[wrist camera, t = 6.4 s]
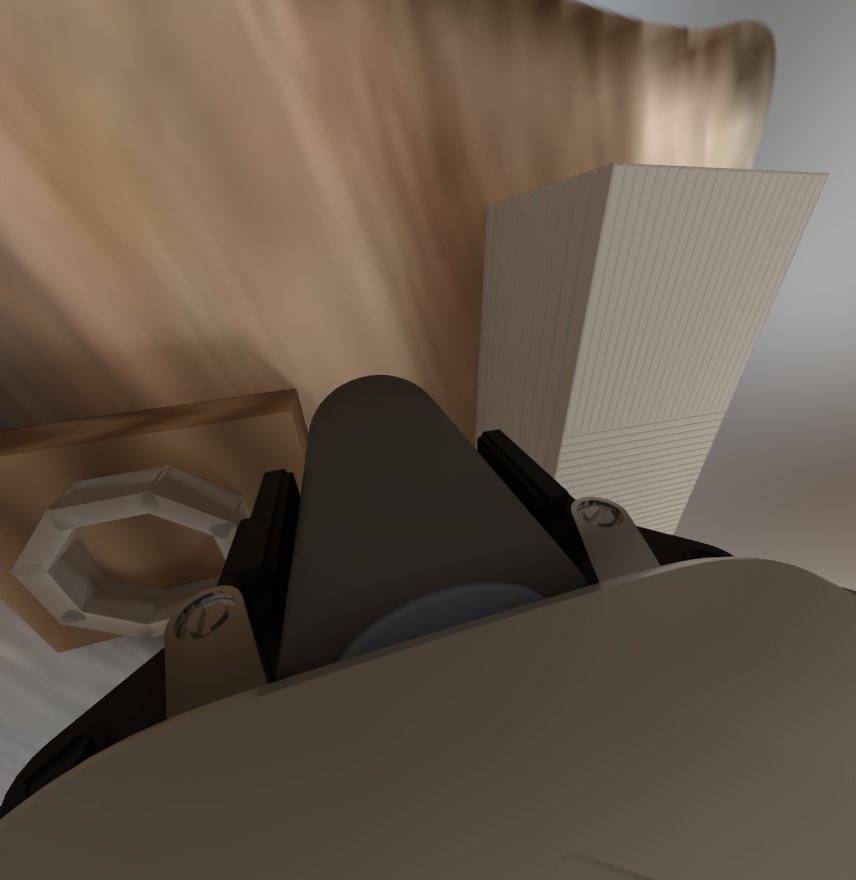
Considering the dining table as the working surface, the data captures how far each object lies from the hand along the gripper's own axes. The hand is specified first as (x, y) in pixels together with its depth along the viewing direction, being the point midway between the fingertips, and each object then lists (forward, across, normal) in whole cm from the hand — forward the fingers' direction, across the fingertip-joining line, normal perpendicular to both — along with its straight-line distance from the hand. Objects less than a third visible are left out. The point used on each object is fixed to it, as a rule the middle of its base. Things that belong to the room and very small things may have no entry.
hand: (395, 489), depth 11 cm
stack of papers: (+15, -14, +7) cm, 21 cm away
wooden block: (+14, +13, +7) cm, 21 cm away
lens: (+4, 0, 0) cm, 4 cm away
